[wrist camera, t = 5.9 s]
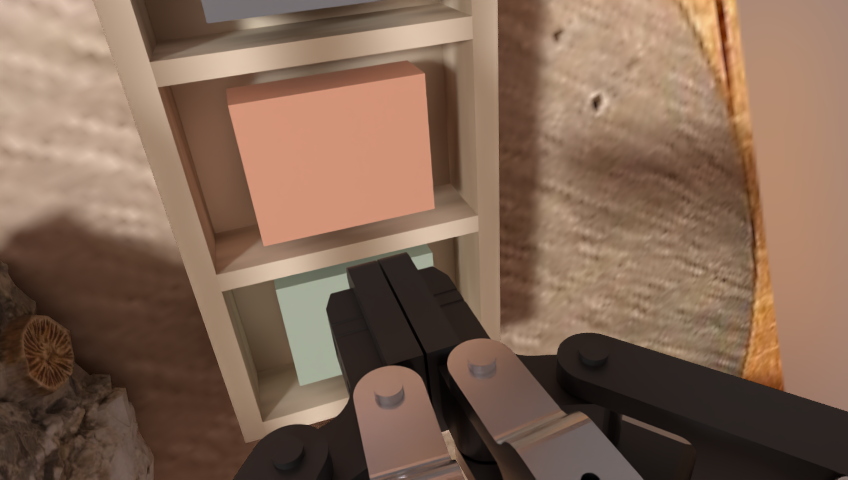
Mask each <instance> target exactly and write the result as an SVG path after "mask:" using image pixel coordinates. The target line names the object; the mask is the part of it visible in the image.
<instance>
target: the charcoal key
mask: <svg viewBox="0 0 848 480" xmlns="http://www.w3.org/2000/svg"><path fill="white" fill-rule="evenodd" d="M375 1H382V0H201V2H202V6H203V10H204V14H205V18H206V22H207V23H215V22H223V21H230V20H238V19H245V18H253V17H261V16H268V15H276V14H283V13H291V12H299V11H306V10H314V9H321V8H329V7H337V6H344V5H352V4H359V3H367V2H375Z"/></svg>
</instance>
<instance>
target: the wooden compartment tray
mask: <svg viewBox="0 0 848 480" xmlns="http://www.w3.org/2000/svg"><path fill="white" fill-rule="evenodd" d="M93 2H94V5H95V8H96V11H97V14H98V17H99V19H100V22H101V25H102V28H103V31H104V34H105V37H106V40H107V43H108V46H109V48H110V51H111V54H112V57H113V60H114V63H115V66H116V69H117V72H118V75H119V77H120V80H121V83H122V86H123V89H124V92H125V95H126V98H127V101H128V104H129V106H130V109H131V112H132V115H133V118H134V121H135V124H136V127H137V130H138V133H139V135H140V138H141V141H142V144H143V147H144V150H145V153H146V156H147V159H148V162H149V164H150V167H151V170H152V173H153V176H154V179H155V182H156V185H157V188H158V191H159V194H160V196H161V199H162V202H163V205H164V208H165V211H166V214H167V217H168V220H169V223H170V225H171V228H172V231H173V234H174V237H175V240H176V243H177V246H178V249H179V252H180V254H181V257H182V260H183V263H184V266H185V269H186V272H187V275H188V278H189V281H190V283H191V286H192V289H193V292H194V295H195V298H196V301H197V304H198V307H199V310H200V312H201V315H202V318H203V321H204V324H205V327H206V330H207V333H208V336H209V339H210V341H211V344H212V347H213V350H214V353H215V356H216V359H217V362H218V365H219V368H220V370H221V373H222V376H223V379H224V382H225V385H226V388H227V391H228V394H229V397H230V399H231V402H232V405H233V408H234V411H235V414H236V417H237V420H238V423H239V426H240V428H241V431H242V434H243V437H244V440H245V443H249V442H252V441H256V440H259V439H262V438H264V437H265V436H266V435H268V434H269V433H271V432H272V431H274V430H276V429H278V428H281V427H283V426H287V425H292V424H305V425H310V424H313V423H316V422H320V421H323V420H327V419H330V418H333V417H336V416H337V415H339V414H340V413H341V411H342V410H343V409H344V407H345V406H346V404H347V402H348V400H349V394H348V391H347V388H346V385H345V381H344V378H343V375H338V376H335V377H331V378H327V379H324V380H320V381H317V382H313V383H310V384H306V385H302V386H300V384H299V380H298V376H297V372H296V368H295V364H294V360H293V356H292V352H291V349H290V345H289V341H288V337H287V333H286V329H285V325H284V321H283V317H282V313H281V309H280V305H279V301H278V297H277V293H276V289H275V284H274V279H278V278H282V277H286V276H290V275H295V274H299V273H303V272H307V271H312V270H316V269H320V268H325V267H329V266H333V265H337V264H342V263H346V262H350V261H354V260H359V259H363V258H367V257H371V256H376V255H380V254H384V253H388V252H393V251H397V250H401V249H405V248H410V247H414V246H418V245H422V244H427V245H428V247H429V248H430V250H431V251H432V254H433V266H434V267H435V268H437V269H438V270H440V271H442V272H444V273H445V274H447V275H448V276H449V277H450V279H451V280H452V282H453V283H454V285H455V286H456V288H457V291H459V292H460V294H461V295H462V297H463V298H464V301H466V303H467V304H468V306H469V307H470V309H471V310H472V312H473V313H474V315H475V316H476V318H477V319H478V321H479V322H480V324H481V325H482V327H483V328H484V330H485V331H486V333H487V334H488V336H489V337H490V338H491V339H492V340H496V341H499V342H500V226H499V103H498V0H382V1H375V2H367V3H359V4H352V5H344V6H337V7H329V8H321V9H314V10H306V11H299V12H291V13H283V14H276V15H268V16H261V17H253V18H245V19H238V20H230V21H223V22H215V23H207V22H206V18H205V14H204V10H203V6H202V2H201V0H93ZM406 60H408V61H409V62H411V63H412V64H413V65H414V66H416V67H417V68H418V69H420V70H421V71H422V72H424V73H425V83H426V97H427V111H428V124H429V138H430V152H431V165H432V179H433V193H434V206H435V209H431V210H427V211H422V212H418V213H413V214H409V215H404V216H399V217H395V218H390V219H386V220H381V221H377V222H372V223H368V224H363V225H359V226H354V227H350V228H345V229H341V230H336V231H332V232H327V233H323V234H318V235H314V236H309V237H304V238H300V239H295V240H291V241H286V242H282V243H277V244H273V245H268V246H264V245H263V242H262V238H261V234H260V230H259V226H258V222H257V218H256V214H255V210H254V206H253V202H252V198H251V194H250V191H249V187H248V183H247V179H246V175H245V171H244V167H243V163H242V159H241V155H240V151H239V147H238V143H237V139H236V136H235V132H234V128H233V124H232V120H231V116H230V112H229V108H228V102H227V93H226V89H228V88H234V87H240V86H247V85H253V84H260V83H266V82H272V81H279V80H285V79H291V78H298V77H304V76H310V75H317V74H323V73H329V72H336V71H342V70H348V69H355V68H361V67H367V66H374V65H380V64H387V63H393V62H399V61H406Z"/></svg>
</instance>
